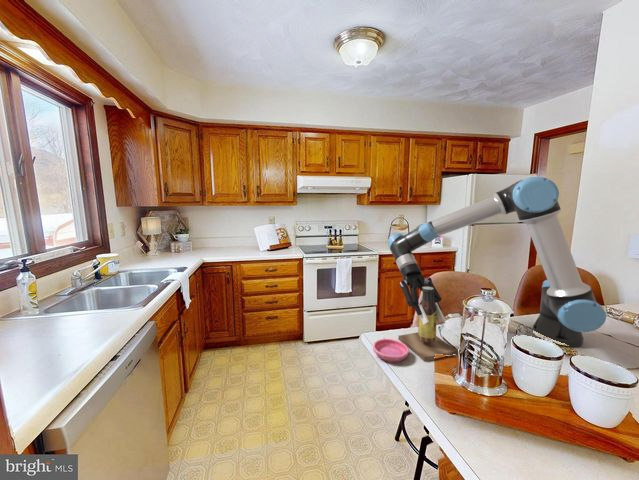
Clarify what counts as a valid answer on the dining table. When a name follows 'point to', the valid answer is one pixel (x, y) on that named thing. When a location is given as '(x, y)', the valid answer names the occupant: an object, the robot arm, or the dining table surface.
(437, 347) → the walnut serving board
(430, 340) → the sauce bottle
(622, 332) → the dining table surface
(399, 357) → the saucer
